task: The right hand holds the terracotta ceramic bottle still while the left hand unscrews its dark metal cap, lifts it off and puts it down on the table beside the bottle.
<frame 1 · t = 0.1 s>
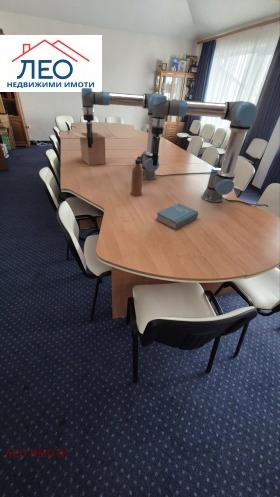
left hand: (90, 145, 173), 28 cm above the table, tool pointing down, fingers open, 13 cm apart
right hand: (154, 162, 146), 28 cm above the table, tool pointing down, fingers open, 13 cm apart
box: (93, 161, 237), on the table
cap: (138, 160, 158), point 25 cm above the table, screwed on, not yet turned
bottle: (136, 193, 173), on the table
book: (176, 219, 143), on the table
laser sight: (146, 163, 243), on the table
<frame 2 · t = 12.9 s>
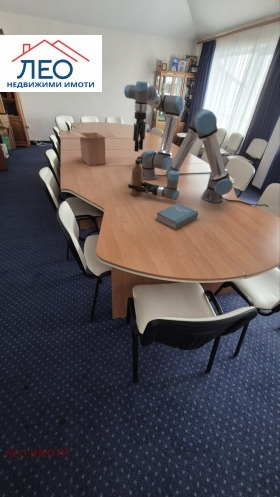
left hand: (138, 150, 154), 32 cm above the table, tool pointing down, fingers open, 6 cm apart
right hand: (131, 184, 170), 7 cm above the table, tool horizontal, fingers closed on bottle, 8 cm apart
bottle: (136, 193, 173), on the table, touching right hand
everything else where it was.
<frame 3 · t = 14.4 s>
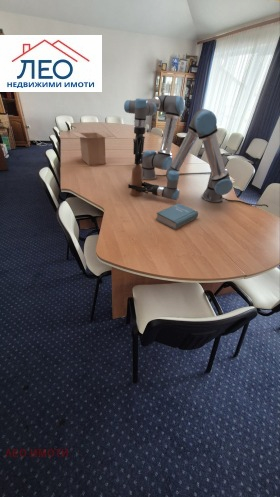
left hand: (137, 163, 159), 23 cm above the table, tool pointing down, fingers closed on cap, 4 cm apart
right hand: (131, 184, 170), 7 cm above the table, tool horizontal, fingers closed on bottle, 8 cm apart
cap: (138, 160, 158), point 25 cm above the table, screwed on, not yet turned, touching left hand
bottle: (136, 193, 173), on the table, touching right hand
everything else where it was.
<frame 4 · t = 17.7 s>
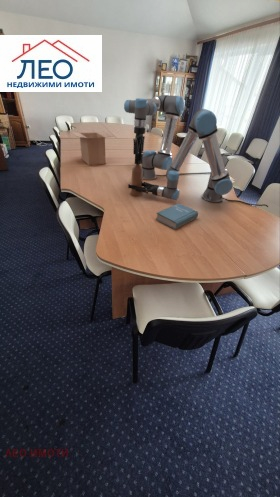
left hand: (137, 163, 159), 23 cm above the table, tool pointing down, fingers closed on cap, 4 cm apart
right hand: (131, 184, 170), 7 cm above the table, tool horizontal, fingers closed on bottle, 8 cm apart
cap: (138, 160, 158), point 25 cm above the table, turned 93° so far, risen 0.1 cm, still on its thread, touching left hand
bottle: (136, 193, 173), on the table, touching right hand
everything else where it was.
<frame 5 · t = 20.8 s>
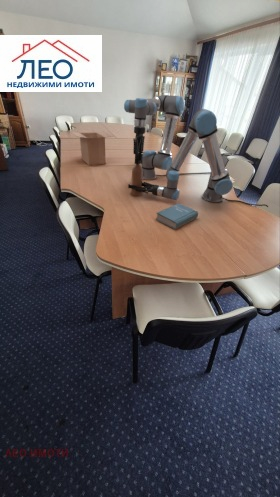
left hand: (137, 163, 159), 23 cm above the table, tool pointing down, fingers closed on cap, 4 cm apart
right hand: (131, 184, 170), 7 cm above the table, tool horizontal, fingers closed on bottle, 8 cm apart
cap: (138, 160, 158), point 25 cm above the table, turned 186° so far, risen 0.2 cm, still on its thread, touching left hand
bottle: (136, 193, 173), on the table, touching right hand
everything else where it was.
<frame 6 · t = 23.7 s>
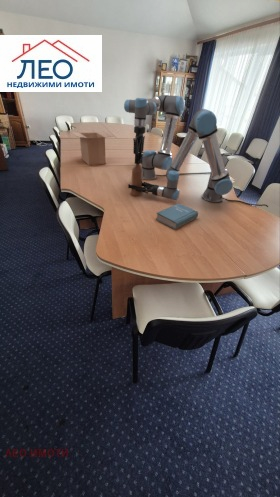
left hand: (137, 163, 159), 24 cm above the table, tool pointing down, fingers closed on cap, 4 cm apart
right hand: (131, 184, 170), 7 cm above the table, tool horizontal, fingers closed on bottle, 8 cm apart
cap: (138, 160, 158), point 26 cm above the table, turned 279° so far, risen 0.3 cm, still on its thread, touching left hand
bottle: (136, 193, 173), on the table, touching right hand
everything else where it was.
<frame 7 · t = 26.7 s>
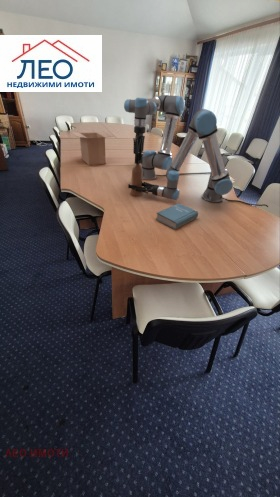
left hand: (137, 162, 159), 24 cm above the table, tool pointing down, fingers closed on cap, 4 cm apart
right hand: (131, 184, 170), 7 cm above the table, tool horizontal, fingers closed on bottle, 8 cm apart
cap: (138, 159, 158), point 26 cm above the table, turned 372° so far, risen 0.4 cm, still on its thread, touching left hand
bottle: (136, 193, 173), on the table, touching right hand
everything else where it was.
when the left hand's fingers open (1 cm above the table, at t = 33.2 s): cap drops 2 cm, point 2 cm above the table.
when the right hand's fingers open (7 cm above the table, at t = 34.5 s): bottle stays where it is, on the table.
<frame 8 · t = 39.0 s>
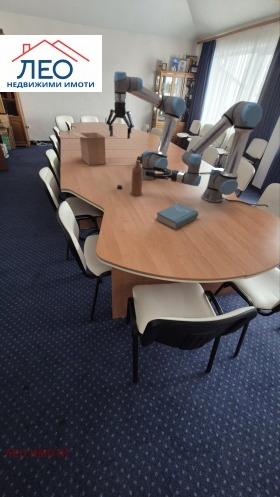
left hand: (119, 137, 157), 38 cm above the table, tool pointing down, fingers open, 13 cm apart
right hand: (149, 170, 158), 20 cm above the table, tool horizontal, fingers open, 13 cm apart
cap: (119, 186, 179), point 2 cm above the table, off its thread
bottle: (136, 193, 173), on the table
everything else where it was.
at the end: cap came off its thread; cap point 2.0 cm above the table; the left hand is holding nothing; the right hand is holding nothing; bottle tilted 0°; bottle moved 0.0 cm from its start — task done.
